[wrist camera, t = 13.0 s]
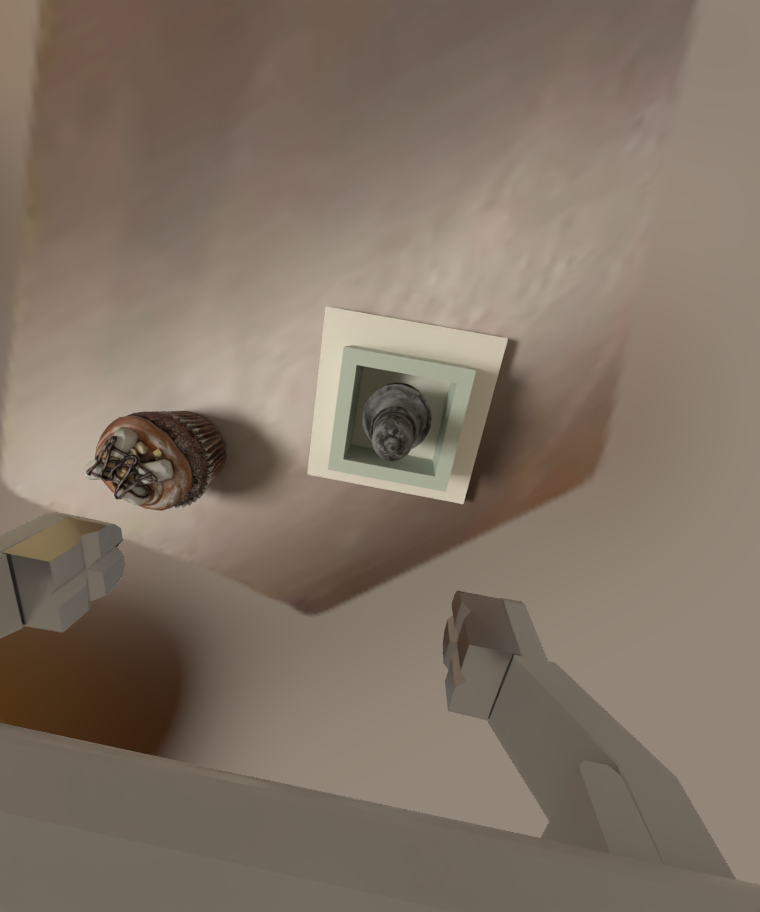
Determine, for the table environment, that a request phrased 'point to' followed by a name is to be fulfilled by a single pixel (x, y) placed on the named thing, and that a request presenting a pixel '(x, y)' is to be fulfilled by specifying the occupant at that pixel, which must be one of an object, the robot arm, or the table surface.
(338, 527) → the table surface
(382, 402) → the dark chess piece
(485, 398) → the stand
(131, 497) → the cupcake
